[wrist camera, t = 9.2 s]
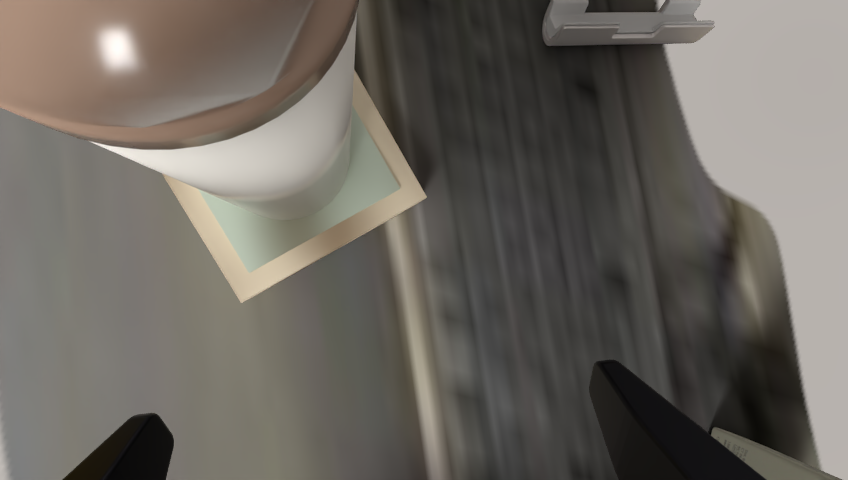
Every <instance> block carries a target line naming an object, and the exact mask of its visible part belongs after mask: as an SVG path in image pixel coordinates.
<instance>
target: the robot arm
mask: <svg viewBox="0 0 848 480" xmlns="http://www.w3.org/2000/svg"><path fill="white" fill-rule="evenodd" d="M589 392H590V397H591V400H592V403H593V406H594V409H595V412H596V415H597V418H598V421H599V424H600V427H601V430H602V434H603V437H604V440H605V443H606V446H607V449H608V452H609V455H610V458H611V461H612V463H613V466H614V469H615V472H616V474H617V477H618V479H619V480H767V479H765V478H764V477H763V476H761V475H760V474H759V473H758V472H756V471H755V470H754V469H753V468H751V467H750V466H749V465H748V464H746V463H745V462H744V461H743V460H741V459H740V458H739V457H738V456H736V455H735V454H734V453H733V452H731V451H730V450H729V449H728V448H726V447H725V446H724V445H723V444H721V443H720V442H719V441H718V440H716V439H715V438H714V437H712V436H711V435H710V434H709V433H707V432H706V431H705V430H704V429H702V428H701V427H700V426H699V425H697V424H696V423H695V422H694V421H692V420H691V419H690V418H689V417H687V416H686V415H685V414H684V413H682V412H681V411H680V410H679V409H677V408H676V407H675V406H674V405H672V404H671V403H670V402H669V401H667V400H666V399H665V398H663V397H662V396H661V395H660V394H658V393H657V392H656V391H655V390H653V389H652V388H651V387H650V386H648V385H647V384H646V383H645V382H643V381H642V380H641V379H640V378H638V377H637V376H636V375H635V374H633V373H632V372H631V371H630V370H628V369H627V368H626V367H625V366H623V365H622V364H621V363H619V362H618V361H616V360H605V361H598V362H596V363H595V364H594V366H593V371H592V376H591V381H590V386H589ZM173 446H174V439H173V435H172V433H171V432H170V431H169V429H168V428H167V426H166V425H165V424H164V422H163V421H162V419H161V418H160V417H159V415H157V414H155V413H147V414H139V415H135V416H133V417H131V418H130V419H128V420H127V421H126V422H125V423H124V424H123V425H122V426H121V427H119V428H118V429H117V430H116V431H115V432H114V433H113V434H112V435H111V436H110V437H109V438H107V439H106V440H105V441H104V442H103V443H102V444H101V445H100V446H99V447H98V448H97V449H95V450H94V451H93V452H92V453H91V454H90V455H89V456H88V457H87V458H86V459H84V460H83V461H82V462H81V463H80V464H79V465H78V466H77V467H76V468H75V469H74V470H72V471H71V472H70V473H69V474H68V475H67V476H66V477H65V478H64V479H63V480H166V476H167V472H168V468H169V464H170V459H171V455H172V451H173Z"/></svg>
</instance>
